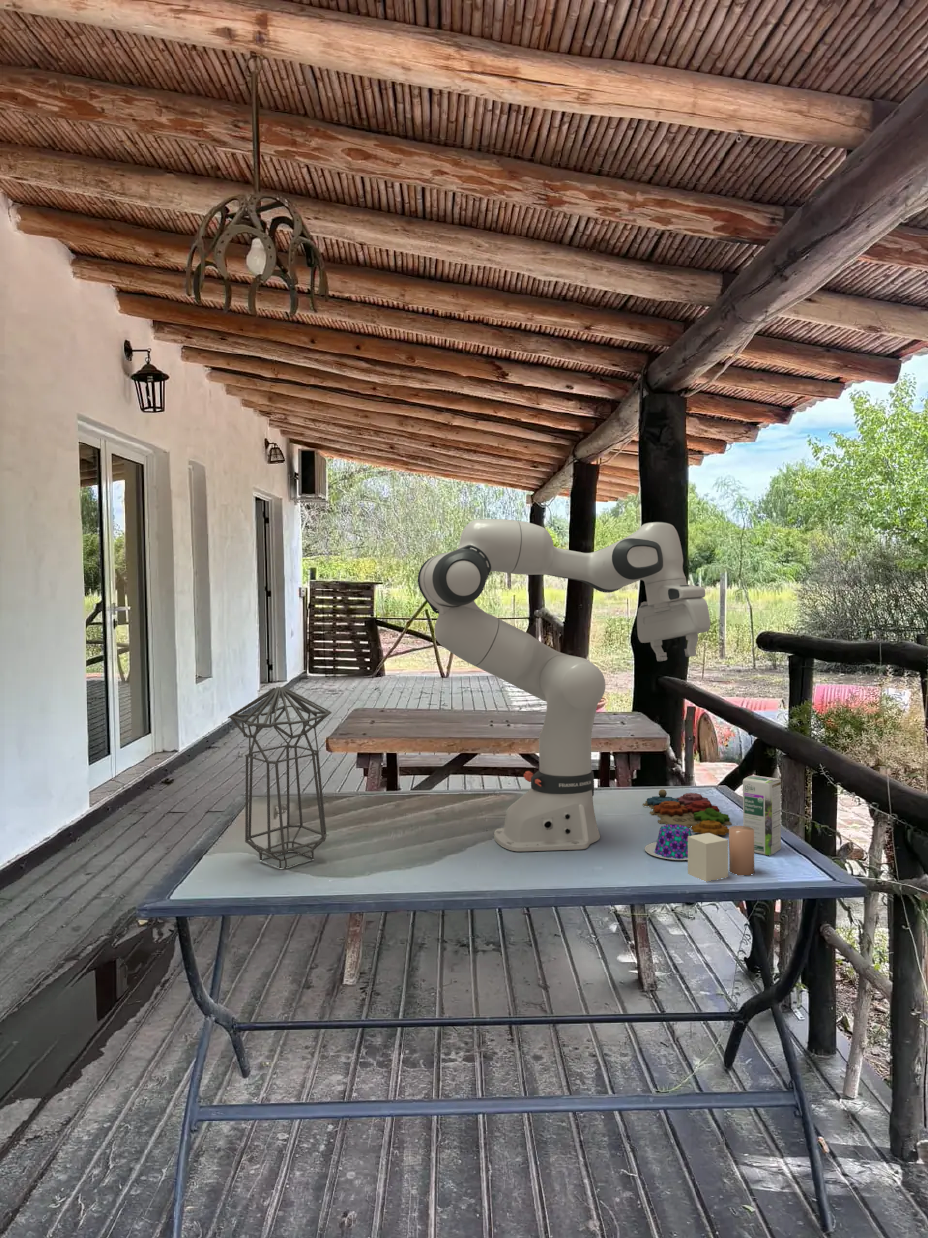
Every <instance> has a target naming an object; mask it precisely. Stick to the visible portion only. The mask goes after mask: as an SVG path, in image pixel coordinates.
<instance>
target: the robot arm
mask: <svg viewBox="0 0 928 1238" xmlns="http://www.w3.org/2000/svg"><path fill="white" fill-rule="evenodd" d="M680 540H681V539H680V536H679V533H678V531H677V529H676V528H675V526H674V525H673V524H671V523H669V522H664V521H653V522H652V521H650V522H645V523H643V524H642V525H641V526H640V527H639V528H638V529H637V530H636V531H634V532H633V533H632V534H630V535H628V536H626V537H624V538H622V539H620V540H618V541H616V542H614V543H612V544H610V545H608V546H605V547H603V548H601V549H597V550H595V551H592V552H581V551H576V550H570V549H565V548H560V547H556V546H554V542H553V538H552V535H551V533H550V532H549V531H548V530H547V528H545V527H543V526H540V525H538V524H535V523H532V522H527V521H520V520H517V519H516V520H514V519H506V518H504V519H503V518H499V519H498V518H485V519H484V518H481V519H480V518H479V519H474V520H471V521H470V522H468V523H467V524H466V525H465V526H464V527H463V530H462V532H461V535H460V538H459V545H458V547H457V549H455V550H451V551H449V552H442V553H439V554H436V555H433V556H431V557H430V558H428V559H427V560H425V562H424V563H423V564H422V565H421V567H420V569H419V570H418V574H417V585H418V588H419V591H420V593H421V596H422V597H423V598H424V599H425V601H426V602H427V604H428V605H429V607H430V608H431V609H432V612H434V613H436V614H438V616H437V619H436V621H435V623H434V624H435V625H434V637H435V639H436V641H437V642H438V644H440V645H441V646H442V647H443V648H444V649H445V650H447V651H448V652H450V653H451V654H453V655H454V656H456V657H457V658H459V659H461V660H462V661H465V663H467V664H470V665H472V666H474V667H475V668H478V669H479V670H482V671H485V672H486V673H488V674H491V675H492V676H495V677H497V678H498V679H501V680H502V681H504V682H507V683H509V684H511V685H512V686H515V687H516V688H518V689H519V690H521V691H524V692H526V693H528V694H530V695H531V696H534V697H535V698H538V699H539V700H541V701H544V702H546V710H545V711H546V712H545V716H544V721H543V722H544V723H543V725H542V728H541V730H540V731H539V735H538V754H539V755H538V758H539V759H538V761H539V762H538V766H539V769H538V770H537V771H535V773H533V772H532V771H530V770H526V771H525V772H524V773H523V779H524V780H525V781H527V782H529V783H530V789H529V790H528V791H526V792H525V793H524V794H523V795H521V796H520V797H519V798H518V799H517V800H516V801H515V802H513V803H512V804H510V805H509V806H508V808H507V810H506V811H505V812H506V813H505V817H504V822H503V827H501V828H500V827H499V828H497V829H495V830H494V833H493V838H494V841H495V842H496V843H497V844H498V845H499V846H500V847H502V848H504V849H507V850H509V851H512V852H537V851H538V852H539V851H540V852H541V851H544V852H545V851H566V850H568V851H571V850H572V851H573V850H585V849H587V848H589V846H590V845H592V844H593V843H596V842H597V841H599V840H600V839H601V834H600V832H599V828H598V825H597V818H596V813H595V806H594V798H593V797H594V796H595V795H594V794H595V777H594V770H592V734H593V727H594V724H595V723H594V722H595V717H596V712H597V708H598V705H599V703H600V701H601V700H602V698H603V697H604V694H605V692H606V680H605V679H606V678H605V675H604V674H603V672H602V671H601V669H600V668H599V667H597V666H596V665H595V664H594V663H592V662H591V661H590V660H588V659H586V658H584V657H582V656H581V657H579V656H576V655H571V654H570V655H569V654H567V653H563V652H560V651H558V650H555V649H554V648H552V647H550V646H548V645H547V644H545V643H544V642H542V641H540V640H539V639H537V638H536V637H534V636H533V635H532V634H530V633H529V632H527V631H524V630H522V629H521V628H518V627H516V626H514V625H513V624H510V623H508V622H506V621H504V620H502V619H500V618H498V617H496V616H495V615H492V614H490V613H488V612H486V611H484V610H483V609H481V608H480V607H479V606H478V605H477V603H476V600H478V598H479V597H480V596H481V595H482V592H483V591H484V590H485V589H484V588H485V586H486V583H487V580H488V578H489V576H490V573H491V572H498V573H499V572H500V573H505V574H512V575H523V576H525V575H526V576H528V575H529V576H530V575H531V576H533V575H534V576H535V575H542V576H544V575H545V576H550V577H557V578H561V579H567V580H573V581H579V582H582V583H584V584H586V585H588V586H589V587H591V588H592V589H594V590H595V591H598V592H600V593H601V592H602V593H606V594H607V593H609V594H610V593H614V592H616V591H618V590H621V589H622V588H624V587H626V586H628V585H632V584H634V583H636V582H640V581H643V582H644V586H645V595H646V601H643V602H640V605H639V607H638V609H637V614H636V615H637V617H636V629H637V637H638V638H637V639H638V640H639V642H640V643H642V644H643V643H644V644H646V643H650V647H651V649H652V650H653V652H654V653H655V657H656V661H657V662H663V661H667V660H668V657H667V652H664V649H663V648H662V646H663V641H664V640H670V639H675V638H681V637H685V640H686V641H687V645H686V648H684V649H683V650H684V654H685V655H684V656H685V657H686V658H689V657H696V656H697V648H696V647H697V645H698V642H699V636H698V634H703V633H708V632H709V630H710V628H711V617H710V611H709V607H708V603H707V600H706V599H705V597H706V589H705V588H704V587H703V586H698V585H692V584H688V583H687V578H686V576H685V573H684V567H683V565H684V555H683V549H682V545H681V541H680Z"/></svg>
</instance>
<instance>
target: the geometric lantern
mask: <svg viewBox="0 0 928 1238" xmlns="http://www.w3.org/2000/svg"><path fill="white" fill-rule="evenodd" d="M280 698H281V700H282V704H283V705H282V706H280V707H278V706H279V702H280ZM286 700H287V701H288V703H289V704H290V705H287V701H286ZM260 701H262V702H260ZM259 702H260V704H258V705H257V707H256V708H254V710H253V711H252V712H250V713H242V712H244V711H245V710H247V709H249V708H251V707H253V706H254V705H256V704H257V703H259ZM294 702H295V703H296V704H297V705H298V706H297V705H296V704H295V703H294ZM269 704H270V705H269ZM268 706H269V708H268V711H267V712H264V710H265V709H266V708H267V707H268ZM309 706H310V707H312V708H313V709H315V710H312V708H310V707H309ZM288 708H292V709H293V710H294V712H295V713H296V715H297V716H298V718H299V719H300V720H295V721H291V717H290V714H289V710H288ZM278 711H280V712H279V713H278V715H277V712H278ZM284 712H285V715H286V721H279V719H280V718H281V716H282V715H283V714H284ZM301 712H303V713H306V715H307V714H308V715H307V718H305V717H304V716H303V714H302V713H301ZM273 714H274V716H273ZM331 714H332V711H330V710H328V709H327V708H325V707H323V706H321V705H319V704H317V703H315V702H313V701H312V700H310V699H308V698H305V696H302V695H300V694H298V693H296V692H295V691H293V690H291V689H290V688H289V689H288V688H287V687H285V686H276V687H272V688H271V689H270V690H268V691H266V692H265V693H262V694H261V695H260V696H258V697H257V698H256V699H254V700H252V701H251V702H249V703H247V704H245V705H244V706H243V707H241V708H239V709H238V710H237V711H235V712H234V713H232V714H231V715H228V717H227V719H230V720H231V721H232V722H233V724H234V725H235V726H236V727H237V728H238V730H240V732H241V733H242V734H243V736H242V737H244V738H248V753H247V754H244V757H245V806H244V807H245V809H244V811H245V823H244V824H245V828H244V829H245V831H244V833H245V835H244V842H245V843H246V844H248V845H249V846H250V847H252V849H254V851H256V852H257V853H258V855H259V861H260V860H262V858H263V856H266V857H271V858H270V859H274V860H276V861H278V862H279V863H278V864H279V866H278V867H279V868H283V867H282V862H283V861H284V868H286V867H289V866H293V865H295V864H296V863H295V864H291V865H289V866H288V860H289V859H292V858H296V857H299V856H304V855H308V853H311V855H310V856H312V858H311V859H314V860H315V857H314V855H315V854H314V851H315V850H316V849H317V848H318V847H319V846H320V845H322V844H323V842H326V840H327V836H328V835H327V826H326V818H325V815H326V814H325V808H324V807H325V805H324V799H323V798H324V797H323V795H324V794H323V786H322V775H321V764H320V756H319V755H320V754H319V752H320V751H319V744H318V739H317V729H316V728H317V727H318V725H320V724H321V723H322V722H323V721H324V720H325V719H326V718H327V717H329V716H330V715H331ZM276 715H277V716H276ZM311 715H313V716H314V717H311ZM260 716H261V717H263V716H265V719H264V721H263V722H260V721H259V720H260ZM244 717H246V718H244ZM252 717H253V718H252ZM251 718H252V719H251ZM272 718H273V719H272ZM250 719H251V721H250ZM272 720H273V721H272ZM237 721H238V722H239V721H240V722H241V725H240V724H239V723H238V722H237ZM255 721H256V722H255ZM268 721H269V722H268ZM312 721H314V723H313V724H310V722H312ZM297 724H302V729H301V731H300V733H298V734H295V735H294V733H293V728H292V725H297ZM245 725H246V726H247V727H248V728H247V729H248V732H246V729H245ZM282 725H288V726H289V732H290V733H288V732H287V731H285V730H284V729H283V728H282V727H280V726H282ZM251 727H255V731H254V733H253V734H252V729H251ZM307 727H308V728H307ZM270 728H273V729H274V730H275V732H276V733H277V734H278V735H279V736H280V737H281V738H282V739H283V741H284V742H285V743H286V744H284V745H281V746H276V747H270V748H265V749H263V748H262V747H261V745H260V743H259V742H258V739H257V735H258V734H259V733H260V732H262V730H263V729H270ZM306 728H307V729H306ZM312 730H313V731H314V738H315V744H316V749H313V745H312V744H311V741H310V739H309V737H308V734H307V733H309V732H310V731H312ZM248 733H249V734H248ZM282 733H283V734H284V735H285V736H286V737H288V738H289V740H286V738H285V737H284V736H283V735H282ZM302 736H304V738H305V740H306V742H307V745H308V747H309V748H308V747H304V746H300V745H298V744H299V742H300V740H301V738H302ZM251 739H252V741H251ZM293 739H296V741H295V743H294V745H292V744H290V743H291V741H292V740H293ZM255 744H256V747H257V748H258V750H255V751H254V746H255ZM282 748H283V750H282V752H281V753H280V755H279V756H278V758H277V759H276V760H269V759H268V757H267V755H266V754H265V752H267V751H272V750H277V749H282ZM290 749H294V757H290ZM298 749H302V750H305V751H309V752H311V753H309V754H305V755H304V754H303V755H300V756H298ZM285 750H286V758H285V759H284V758H283V759H281V757H282V755H283V754H284V752H285ZM259 753H261V755H262V757H263V758H264V759H262V758H258V757H255V756H254V754H259ZM307 757H311V760H312V767H313V768H312V769H313V777H314V784H315V792H316V801H317V807H318V808H317V809H318V817H319V818H318V819H319V825H320V831H319V830H316V829H314V828H312V827H311V828H310V827H308V826H305V825H303V809H302V799H301V797H302V796H301V787H300V786H301V784H300V773H299V762H298V760H299V759H302V758H307ZM254 760H257V761H260V762H263V763H265V764H266V811H267V812H266V816H267V822H266V823H267V825H266V826H267V830H265V831H262V832H258V833H255V834H252V807H253V806H252V805H253V772H254V771H253V769H254V765H253V764H254ZM292 760H294V761H295V762H294V764H295V765H294V767H295V777H296V790H297V803H298V804H297V805H298V813H299V814H298V817H299V824H290V822H291V821H290V820H291V819H290V816H291V812H290V810H291V808H290V761H292ZM283 762H286V825H284V824H283V823H284V821H283V813H282V812H283V811H282V801H281V786H280V775H279V774H280V773H279V763H283ZM270 764H272V765H274V768H275V781H276V792H277V805H278V816H279V817H278V820H279V827H275V828H273V829H271V789H270V788H271V783H270V781H271V779H270V778H271V777H270ZM289 828H298V829H297V831H296V833H295V835H294V836H293V839H292V840H290V829H289ZM284 829H286V836H287V839H286V840H285V837H284V834H285V833H284ZM301 829H304V830H307V831H310V832H313V833H314V834H317V835H320V836H321V837H320V838H319V839H318V840H315V841H314V840H313V841H311V842H307V843H305V844H304V843H300V842H297V841H296V839H297V837H298V834H299V832H300V830H301ZM278 831H280V840H281V841H280V843H277V844H275V845H272V843H271V840H272V839H271V834H272V833H274V832H278ZM264 835H267V847H266V848H264V847H262V846H260V845H258V844H256V843H255V842H254V840H253V839H254V838H257V837H260V836H264ZM285 844H286V846H285ZM289 844H291V847H289ZM294 844H295V845H294ZM271 845H272V846H271ZM279 846H281V849H278V850H272V849H274V848H277V847H279ZM302 848H309V850H306V851H302V852H300V851H297V850H298V849H302ZM288 851H295V852H298V853H299V854H298V853H295V852H294V853H295V854H293V855H290V856H287V857H286V853H285V852H288ZM281 853H283V854H282V855H283V858H279V857H278V856H275V855H277V854H281ZM302 854H304V855H302ZM262 861H263V860H262Z"/></svg>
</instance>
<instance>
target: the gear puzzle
mask: <svg viewBox="0 0 928 1238" xmlns="http://www.w3.org/2000/svg"><path fill="white" fill-rule="evenodd" d="M645 802H646V803H642V806H643V805H644V806H649V807H648V808H650V809H651V810H650V811H649V814H650V815H651V816H657V817H658V818H659V819H658V820H657V822H658V824H659V825H668V824H672V825H674V824H677V825H682V826H686V827H687V828H689V829H690V831H693V832H692V833H695V834H705V833H711V834H714V835H716V836H726V835H727V834H729V827H732V826H733V823H732V822H731V821H730V820H731V818H730V817H729V814H726V813H722V812H721V811H720V809H719V806H718V805H713V804H712V802H711V801H710V800H709V798H708V797H703V795H702V794H701V793H697V792H685V793H684V794H683V795H680V797H673V796H667V790H665V789H663V788H662V789H660V790H659V791H658V796H657V795H656V796H652V797H648V798H646V800H645ZM644 806H643V807H644ZM652 809H653V810H652ZM691 826H692V827H691Z"/></svg>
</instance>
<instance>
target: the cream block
mask: <svg viewBox="0 0 928 1238" xmlns="http://www.w3.org/2000/svg"><path fill="white" fill-rule="evenodd" d="M687 859H688V860H687V874H688V875H689V876H692V877H694V878H696V879H698V878H699V879H698V880H700V879H701V881H702V880H704V881H706V882H705V883H708V882H707V881H711V880H716V881H718V880H717V879H721V878H725V877H728V878H729V839H727V838H724V837H721V836H720V835H714V834H711V833H705V834H701V833H698V834H693V835H692V836H688V858H687ZM725 879H726V878H725ZM721 880H722V879H721ZM704 881H703V882H704ZM711 882H712V881H711Z"/></svg>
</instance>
